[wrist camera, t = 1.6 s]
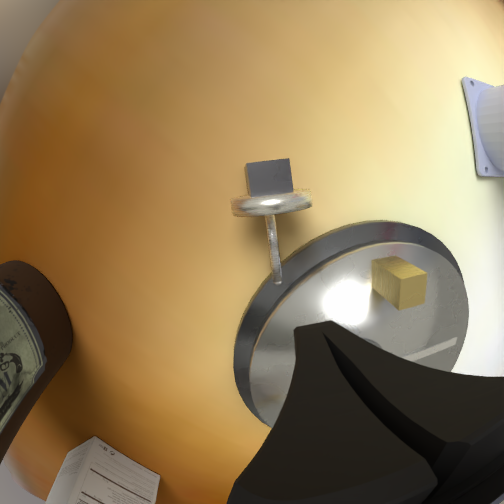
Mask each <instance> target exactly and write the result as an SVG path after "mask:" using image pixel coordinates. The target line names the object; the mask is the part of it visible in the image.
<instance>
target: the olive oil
mask: <svg viewBox="0 0 504 504" xmlns="http://www.w3.org/2000/svg"><path fill="white" fill-rule="evenodd" d="M71 347H72V331H71V325H70V321H69V318H68V315H67V312H66V310H65V307H64V305H63V303H62V301H61V299H60V297H59V296H58V294H57V292H56V291H55V289H54V288H53V287H52V285H51V284H50V283H49V281H48V280H47V279H46V278H45V277H44V276H43V275H42V274H41V273H40V272H39V271H38V270H36V269H35V268H34V267H32V266H31V265H29V264H27V263H25V262H22V261H9V262H6V263H3V264H1V265H0V464H1V462H2V460H3V458H4V456H5V454H6V452H7V450H8V448H9V446H10V444H11V443H12V441H13V439H14V437H15V436H16V434H17V432H18V430H19V429H20V427H21V425H22V424H23V422H24V420H25V419H26V417H27V415H28V414H29V412H30V410H31V409H32V407H33V406H34V404H35V403H36V401H37V400H38V398H39V397H40V395H41V394H42V392H43V391H44V389H45V388H46V386H47V385H48V384H49V382H50V381H51V379H52V378H53V377H54V375H55V374H56V373H57V371H58V370H59V368H60V367H61V366H62V364H63V363H64V362H65V360H66V359H67V357H68V356H69V353H70V351H71Z"/></svg>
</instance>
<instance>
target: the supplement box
mask: <svg viewBox="0 0 504 504" xmlns="http://www.w3.org/2000/svg"><path fill="white" fill-rule="evenodd" d="M159 480H160V475H158V474H156V473H154V472H152V471H150V470H149V469H147V468H145V467H143V466H142V465H140V464H138V463H136V462H135V461H133V460H131V459H130V458H128V457H126V456H125V455H123V454H121V453H120V452H118V451H117V450H115V449H114V448H112V447H111V446H109V445H108V444H106V443H105V442H103V441H102V440H100V439H99V438H97V437H96V436H94V437H92V438H91V439H89V440H87V441H86V442H84V443H83V444H81V445H79V446H78V447H76V448H74V449H73V450H71V451H69V452H68V454H67V456H66V458H65V460H64V462H63V464H62V466H61V468H60V471H59V473H58V475H57V477H56V480H55V482H54V484H53V486H52V489H51V491H50V493H49V496H48V498H47V501H46V503H45V504H155V502H156V496H157V491H158V485H159Z"/></svg>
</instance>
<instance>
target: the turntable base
mask: <svg viewBox="0 0 504 504" xmlns="http://www.w3.org/2000/svg"><path fill="white" fill-rule="evenodd" d="M388 239H392V240H404V241H408V242H412V243H416V244H419V245H421V246H424V247H426V248H428V249H430V250H432V251H434V252H437V253H439V254H440V255H441V256H443V257H444V258H445V259H447V260H448V261H449V262H450V263H451V264H452V265H453V266H454V268H455V269H456V270H457V272H458V273H459V275H460V277H461V279H462V281H463V277H462V273H461V271H460V268H459V266H458V263H457V262H456V260H455V258H454V257H453V255H452V253H451V252H450V251H449V250H448V248H447V247H446V246H445V245H444V244H443V243H442V242H441V241H440V240H438V239H437V238H436V237H435V236H433V235H432V234H430V233H428V232H426V231H424V230H422V229H420V228H418V227H415V226H411V225H408V224H405V223H401V222H396V221H387V220H374V221H363V222H358V223H353V224H348V225H345V226H342V227H340V228H337V229H334V230H331V231H329V232H327V233H325V234H323V235H321V236H319V237H317V238H315V239H313V240H311V241H309V242H308V243H306V244H305V245H303V246H302V247H300V248H299V249H297V250H296V251H294V252H293V253H292V254H291V255H290V256H288V257H287V258H286V259H285V260H284V261H283V262H281V263H280V264H281V273H282V283H281V284H280V285H275V284H274V282H273V276H272V272H271V273H270V275H269V276H268V277H267V278H266V279H265V280H264V281H263V282H262V284H261V285H260V287H259V288H258V290H257V291H256V292H255V294H254V295H253V297H252V298H251V300H250V302H249V304H248V306H247V308H246V309H245V311H244V313H243V316H242V318H241V321H240V324H239V327H238V330H237V334H236V339H235V344H234V366H233V368H234V375H235V382H236V385H237V388H238V391H239V394H240V396H241V397H242V399H243V401H244V403H245V405H246V406H247V407H248V408H249V410H250V411H251V412H252V413H253V414H254V415H255V416H256V417H257V418H258V419H259V420H260V421H262V422H263V423H264V424H266V425H268V424H267V423H266V422H265V421H264V420H263V419H262V417H261V416H260V415H259V413H258V411H257V409H256V407H255V405H254V402H253V399H252V396H251V390H250V379H249V362H250V354H251V350H252V346H253V342H254V339H255V337H256V334H257V332H258V329H259V327H260V325H261V323H262V322H263V320H264V318H265V316H266V315H267V313H268V311H269V310H270V309H271V307H272V306H273V305H274V303H275V302H276V301H277V299H278V298H279V297H280V296H281V295H282V294H283V293H284V291H285V290H286V289H287V288H288V287H289V286H290V285H291V284H292V283H293V282H294V281H296V280H297V279H298V278H299V277H300V276H301V275H303V274H304V273H305V272H306V271H307V270H309V269H310V268H312V267H313V266H315V265H316V264H318V263H319V262H321V261H322V260H324V259H326V258H328V257H330V256H331V255H333V254H335V253H337V252H339V251H341V250H344V249H347V248H349V247H352V246H355V245H357V244H362V243H366V242H371V241H376V240H388ZM463 283H464V281H463ZM268 426H269V425H268ZM269 427H270V426H269Z"/></svg>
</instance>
